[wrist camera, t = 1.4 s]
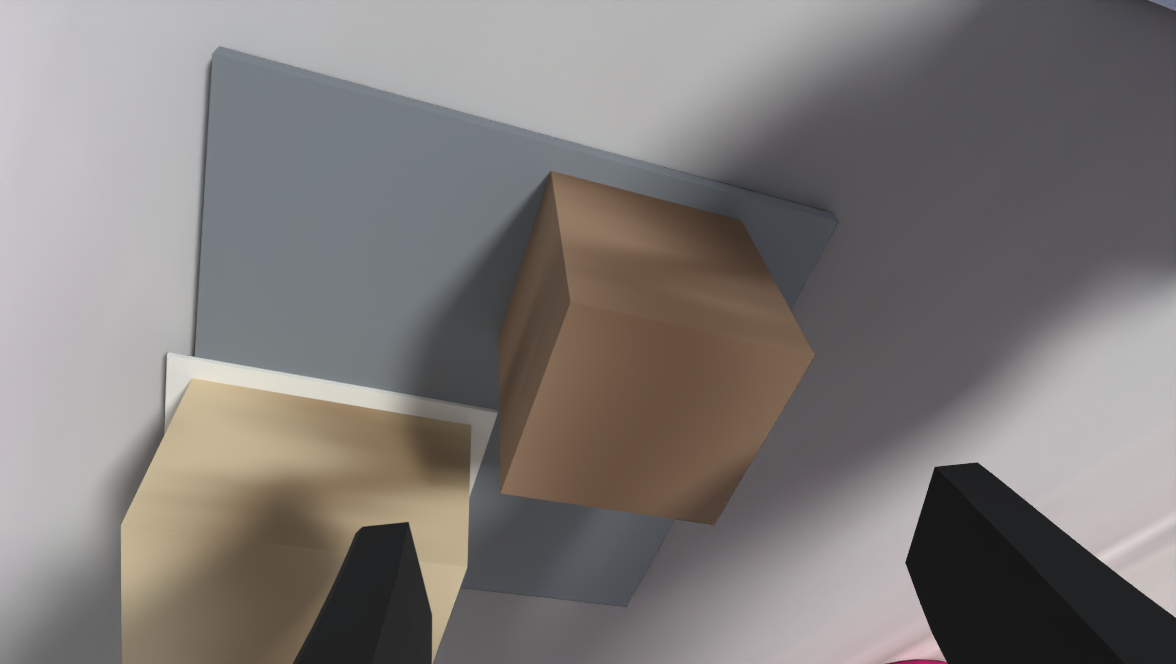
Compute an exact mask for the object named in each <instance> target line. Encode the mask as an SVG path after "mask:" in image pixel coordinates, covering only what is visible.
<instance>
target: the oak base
mask: <svg viewBox="0 0 1176 664" xmlns="http://www.w3.org/2000/svg"><path fill="white" fill-rule="evenodd" d="M470 456H471V425H467V424H461V423H455V422H449V421H443V420H437V419H431V418H425V417H419V416H414V415H408V414H402V413H396V412H390V411H384V410H378V409H372V408H366V407H360V406H354V405H348V404H342V403H337V402H331V401H325V400H319V399H313V398H307V397H301V396H295V395H289V394H283V393H277V392H271V391H266V390H260V389H254V388H248V387H242V386H236V385H230V384H224V383H218V382H212V381H206V380H200V379H195V378H192V379H191V381H190V383H189V386H188V388H187V390H186V392H185V394H184V396H183V398H182V400H181V402H180V404H179V406H178V408H177V410H176V412H175V414H174V416H173V419H172V421H171V423H170V425H169V427H168V429H167V431H166V433H165V435H164V437H163V439H162V441H161V443H160V445H159V447H158V449H157V452H156V454H155V456H154V458H153V460H152V462H151V464H150V466H149V468H148V470H147V472H146V474H145V476H144V478H143V480H142V483H141V485H140V487H139V489H138V491H137V493H136V495H135V497H134V499H133V501H132V503H131V505H130V507H129V509H128V511H127V513H126V516H125V518H124V520H123V522H122V524H121V650H122V664H293V662H294V660H295V658H296V656H297V654H298V653H299V651H300V649H301V647H302V645H303V643H304V641H305V640H306V638H307V636H308V634H309V632H310V630H311V628H312V626H313V624H314V622H315V620H316V618H317V616H318V614H319V612H320V610H321V608H322V606H323V604H324V602H325V600H326V598H327V596H328V594H329V592H330V590H331V588H332V586H333V583H334V581H335V579H336V577H337V575H338V573H339V570H340V568H341V566H342V564H343V561H344V559H345V557H346V555H347V552H348V550H349V548H350V545H351V543H352V540H353V538H354V536H355V533H356V532H357V531H358V530H359V529H360V528H362V527H364V526H373V525H383V524H392V523H402V522H409V525H410V529H411V533H412V537H413V541H414V545H415V549H416V553H417V557H418V561H419V565H420V569H421V573H422V577H423V580H424V584H425V588H426V592H427V596H428V600H429V604H430V608H431V612H432V664H433V661H434V659H435V656H436V653H437V650H438V647H439V645H440V642H441V639H442V636H443V634H444V631H445V628H446V625H447V622H448V620H449V617H450V614H451V611H452V609H453V606H454V603H455V600H456V597H457V595H458V592H459V589H460V586H461V584H462V581H463V578H464V575H465V572H466V570H467V561H468V526H469V491H470Z"/></svg>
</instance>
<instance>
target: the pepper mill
mask: <svg viewBox="0 0 1176 664" xmlns="http://www.w3.org/2000/svg"><path fill="white" fill-rule="evenodd" d="M892 664H948V663H946V662H942V661H932V660H916V661H903V662H898V663H892Z"/></svg>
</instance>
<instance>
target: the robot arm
mask: <svg viewBox="0 0 1176 664" xmlns="http://www.w3.org/2000/svg"><path fill="white" fill-rule="evenodd" d="M1149 1H1151V2H1154V3H1156V4H1159V5H1161V6H1164V7H1166V8H1169V9H1171V10H1174V11H1176V0H1149ZM905 563H906V565H907V568H908V571H909V574H910V576H911V579H912V582H913V585H914V587H915V590H916V593H917V596H918V598H919V601H920V604H921V606H922V609H923V611H924V614H925V616H926V619H927V621H928V624H929V626H930V629H931V631H932V634H933V636H934V638H935V640H936V642H937V644H938V645H939V647H940V649H941V651H942V653H943V655H944V657H945V659H946V661H947V663H948V664H1176V618H1175V617H1174V616H1173V615H1171V614H1170V613H1168V612H1167V611H1166V610H1164V609H1163V608H1162V607H1160V606H1159V605H1158V604H1156V603H1155V602H1154V601H1152V600H1151V599H1150V598H1148V597H1147V596H1146V595H1144V594H1143V593H1142V592H1140V591H1139V590H1138V589H1136V588H1135V587H1134V586H1132V585H1131V584H1130V583H1128V582H1127V581H1126V580H1125V579H1123V578H1122V577H1121V576H1119V575H1118V574H1117V573H1116V572H1114V571H1113V570H1112V569H1110V568H1109V567H1108V566H1107V565H1105V564H1104V563H1103V562H1101V561H1100V560H1099V559H1098V558H1096V557H1095V556H1094V555H1092V554H1091V553H1090V552H1089V551H1087V550H1086V549H1085V548H1084V547H1082V546H1081V545H1080V544H1079V543H1077V542H1076V541H1075V540H1074V539H1072V538H1071V537H1070V536H1069V535H1067V534H1066V533H1065V532H1064V531H1062V530H1061V529H1060V528H1059V527H1057V526H1056V525H1055V524H1054V523H1053V522H1051V521H1050V520H1049V519H1048V518H1046V517H1045V516H1044V515H1043V514H1041V513H1040V512H1039V511H1038V510H1036V509H1035V508H1034V507H1033V506H1032V505H1030V504H1029V503H1028V502H1027V501H1025V500H1024V499H1023V498H1022V497H1020V496H1019V495H1018V494H1017V493H1015V492H1014V491H1013V490H1012V489H1011V488H1009V487H1008V486H1007V485H1006V484H1004V483H1003V482H1002V481H1001V480H999V479H998V478H997V477H996V476H994V475H993V474H992V473H990V472H989V471H988V470H987V469H985V468H984V467H983V466H981V465H980V464H979V463H978V462H977V463H968V464H958V465H949V466H939V467H935V468H934V471H933V475H932V478H931V481H930V484H929V488H928V491H927V494H926V497H925V501H924V504H923V507H922V510H921V514H920V517H919V520H918V523H917V527H916V530H915V533H914V536H913V540H912V543H911V546H910V549H909V553H908V556H907V559H906V562H905ZM293 664H432V612H431V608H430V604H429V600H428V596H427V592H426V588H425V584H424V580H423V577H422V573H421V569H420V565H419V561H418V557H417V553H416V549H415V545H414V541H413V537H412V533H411V529H410V525H409V522H402V523H392V524H383V525H373V526H364V527H362V528H360V529H359V530H358V531H357V532H356V533H355V536H354V538H353V540H352V543H351V545H350V548H349V550H348V552H347V555H346V557H345V559H344V561H343V564H342V566H341V568H340V570H339V573H338V575H337V577H336V579H335V581H334V583H333V586H332V588H331V590H330V592H329V594H328V596H327V598H326V600H325V602H324V604H323V606H322V608H321V610H320V612H319V614H318V616H317V618H316V620H315V622H314V624H313V626H312V628H311V630H310V632H309V634H308V636H307V638H306V640H305V641H304V643H303V645H302V647H301V649H300V651H299V653H298V654H297V656H296V658H295V660H294V662H293Z"/></svg>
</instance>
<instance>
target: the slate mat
mask: <svg viewBox="0 0 1176 664" xmlns="http://www.w3.org/2000/svg"><path fill="white" fill-rule="evenodd" d="M551 171H554V172H558V173H562V174H566V175H569V176H573V177H577V178H581V179H585V180H589V181H592V182H596V183H600V184H604V185H608V186H612V187H616V188H619V189H623V190H627V191H631V192H635V193H639V194H642V195H646V196H650V197H654V198H658V199H662V200H666V201H669V202H673V203H677V204H681V205H685V206H689V207H692V208H696V209H700V210H704V211H708V212H712V213H715V214H719V215H723V216H727V217H731V218H735V219H739V220H741V221H742V223H743V224H744V226H745V228H746V230H747V232H748V234H749V235H750V237H751V239H752V241H753V243H754V244H755V246H756V248H757V250H758V252H759V254H760V255H761V257H762V259H763V261H764V263H765V265H766V266H767V268H768V270H769V272H770V274H771V275H772V277H773V279H774V281H775V283H776V285H777V286H778V288H779V290H780V292H781V294H782V296H783V297H784V299H785V301H786V303H787V305H788V306H789V308H790V309H791V308H792V306H793V304H794V302H795V300H796V298H797V297H798V295H799V293H800V291H801V289H802V288H803V286H804V284H805V282H806V280H807V279H808V277H809V275H810V273H811V271H812V269H813V268H814V266H815V264H816V262H817V260H818V259H819V257H820V255H821V253H822V251H823V250H824V248H825V246H826V244H827V242H828V240H829V239H830V237H831V235H832V233H833V231H834V230H835V228H836V226H837V224H838V222H839V221H838V220H837V219H836V218H835V216H834V215H833V214H832V213H831V212H827V211H823V210H820V209H816V208H812V207H809V206H805V205H801V204H798V203H794V202H790V201H787V200H783V199H779V198H775V197H772V196H768V195H764V194H761V193H757V192H753V191H750V190H746V189H742V188H739V187H735V186H731V185H728V184H724V183H720V182H717V181H713V180H709V179H706V178H702V177H698V176H694V175H691V174H687V173H683V172H680V171H676V170H672V169H669V168H665V167H661V166H658V165H654V164H650V163H647V162H643V161H639V160H636V159H632V158H628V157H625V156H621V155H617V154H613V153H610V152H606V151H602V150H599V149H595V148H591V147H588V146H584V145H580V144H577V143H573V142H569V141H566V140H562V139H558V138H555V137H551V136H547V135H544V134H540V133H536V132H532V131H529V130H525V129H521V128H518V127H514V126H510V125H507V124H503V123H499V122H496V121H492V120H488V119H485V118H481V117H477V116H474V115H470V114H466V113H463V112H459V111H455V110H452V109H448V108H444V107H440V106H437V105H433V104H429V103H426V102H422V101H418V100H415V99H411V98H407V97H404V96H400V95H396V94H393V93H389V92H385V91H382V90H378V89H374V88H371V87H367V86H363V85H359V84H356V83H352V82H348V81H345V80H341V79H337V78H334V77H330V76H326V75H323V74H319V73H315V72H312V71H308V70H304V69H301V68H297V67H293V66H290V65H286V64H282V63H278V62H275V61H271V60H267V59H264V58H260V57H256V56H253V55H249V54H245V53H242V52H238V51H234V50H231V49H227V48H223V47H220V46H219V47H218V48H217V49H216V50H215V51H214V52H213V54H212V71H211V88H210V104H209V121H208V138H207V155H206V172H205V189H204V206H203V223H202V240H201V257H200V274H199V291H198V308H197V325H196V342H195V357H192V356H186V355H181V354H175V353H168V355H167V373H166V402H165V430H164V435H165V433H166V431H167V429H168V427H169V425H170V423H171V421H172V419H173V416H174V414H175V412H176V410H177V408H178V406H179V404H180V402H181V400H182V398H183V396H184V394H185V392H186V390H187V388H188V386H189V383H190V381H191V379H192V378H195V379H200V380H206V381H212V382H218V383H224V384H230V385H236V386H242V387H248V388H254V389H260V390H266V391H271V392H277V393H283V394H289V395H295V396H301V397H307V398H313V399H319V400H325V401H331V402H337V403H342V404H348V405H354V406H360V407H366V408H372V409H378V410H384V411H390V412H396V413H402V414H408V415H414V416H419V417H425V418H431V419H437V420H443V421H449V422H455V423H461V424H467V425H471V456H470V491H469V526H468V561H467V570H466V572H465V575H464V578H463V581H462V584H461V586H460V588H466V589H475V590H483V591H492V592H501V593H510V594H518V595H527V596H536V597H544V598H553V599H562V600H571V601H579V602H588V603H597V604H605V605H614V606H623V607H627V605H628V603H629V601H630V600H631V598H632V596H633V594H634V592H635V590H636V589H637V587H638V585H639V583H640V581H641V580H642V578H643V576H644V574H645V572H646V571H647V569H648V567H649V565H650V563H651V561H652V560H653V558H654V556H655V554H656V552H657V551H658V549H659V547H660V545H661V543H662V542H663V540H664V538H665V536H666V534H667V532H668V531H669V529H670V527H671V525H672V523H673V522H674V520H675V519H670V518H663V517H657V516H650V515H643V514H636V513H630V512H623V511H616V510H609V509H603V508H596V507H589V506H582V505H575V504H569V503H562V502H555V501H548V500H542V499H535V498H528V497H521V496H515V495H508V494H501V493H500V428H499V356H498V337H499V334H500V330H501V327H502V324H503V321H504V318H505V315H506V312H507V308H508V305H509V302H510V299H511V296H512V293H513V289H514V286H515V283H516V280H517V277H518V274H519V270H520V267H521V264H522V261H523V258H524V255H525V251H526V248H527V245H528V242H529V239H530V236H531V232H532V229H533V226H534V223H535V220H536V217H537V213H538V210H539V207H540V204H541V201H542V198H543V194H544V191H545V188H546V185H547V182H548V179H549V175H550V172H551Z"/></svg>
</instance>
